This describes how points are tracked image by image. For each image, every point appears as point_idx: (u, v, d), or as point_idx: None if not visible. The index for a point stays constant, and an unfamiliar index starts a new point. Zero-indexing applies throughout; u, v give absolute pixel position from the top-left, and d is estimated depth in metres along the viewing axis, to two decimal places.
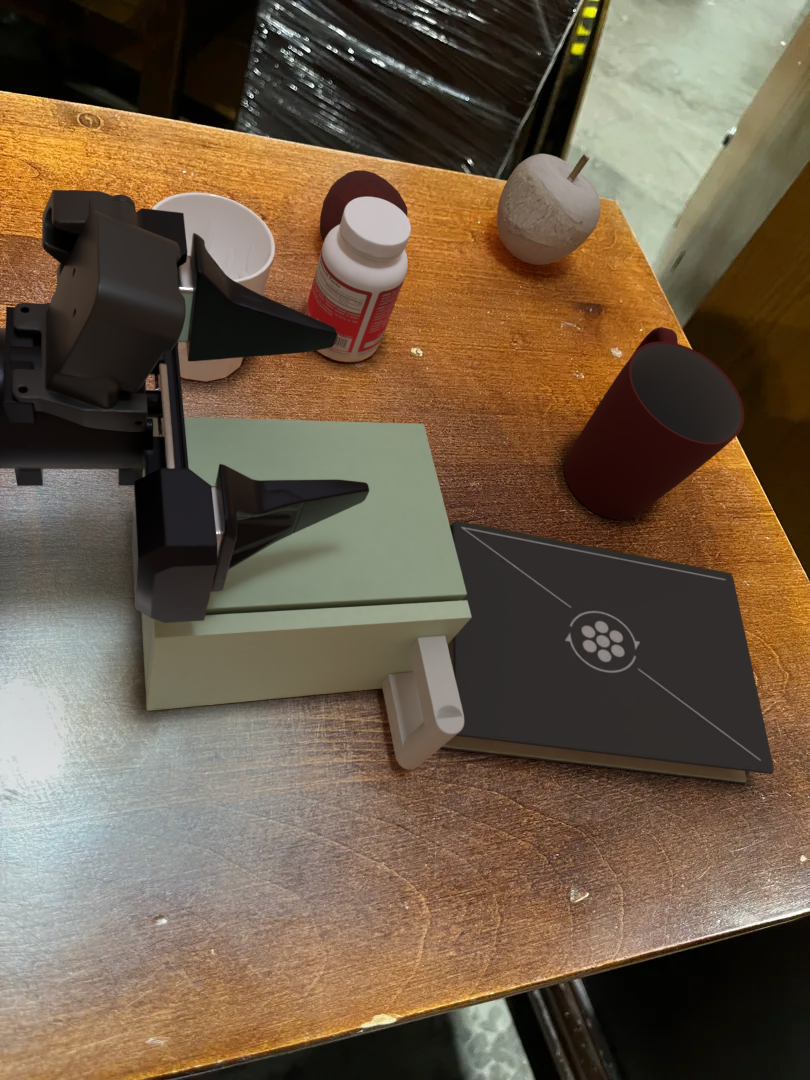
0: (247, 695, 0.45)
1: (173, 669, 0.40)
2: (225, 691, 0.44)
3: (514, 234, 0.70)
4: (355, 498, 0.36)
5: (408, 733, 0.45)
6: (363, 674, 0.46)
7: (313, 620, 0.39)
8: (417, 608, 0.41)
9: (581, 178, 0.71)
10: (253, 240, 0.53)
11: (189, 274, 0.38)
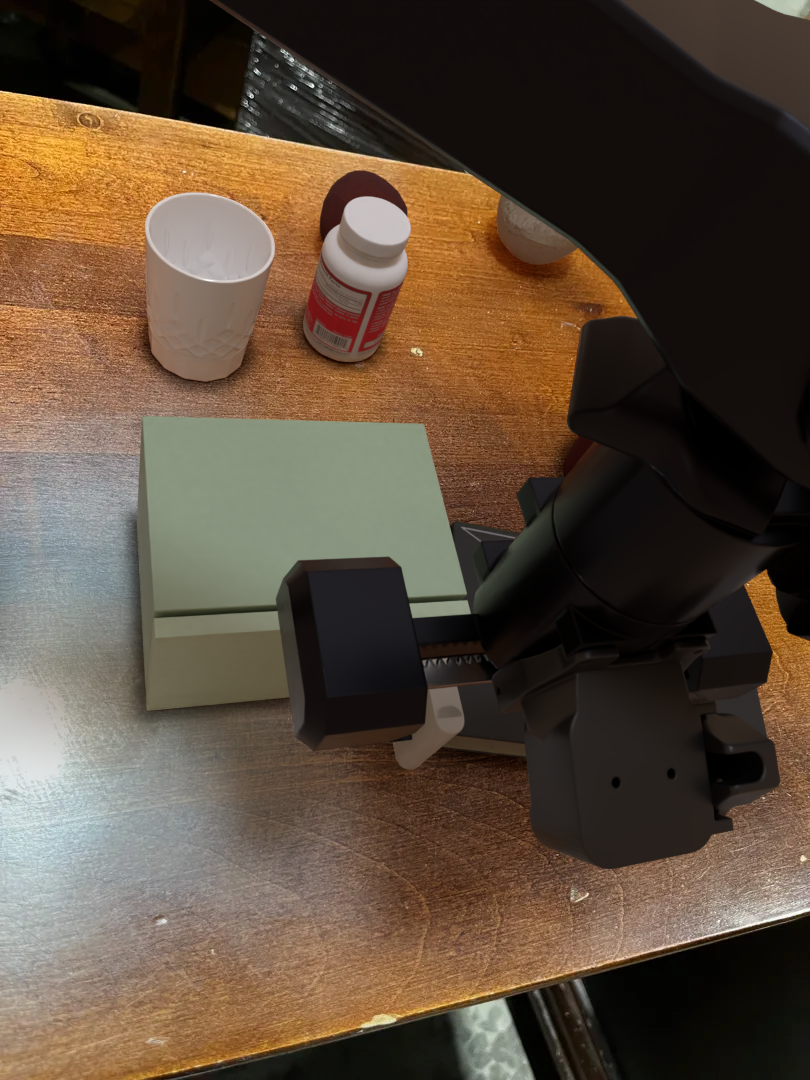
0: (247, 695, 0.45)
1: (173, 669, 0.40)
2: (225, 691, 0.44)
3: (514, 234, 0.70)
4: None
5: None
6: None
7: None
8: (417, 608, 0.41)
9: None
10: (253, 240, 0.53)
11: None
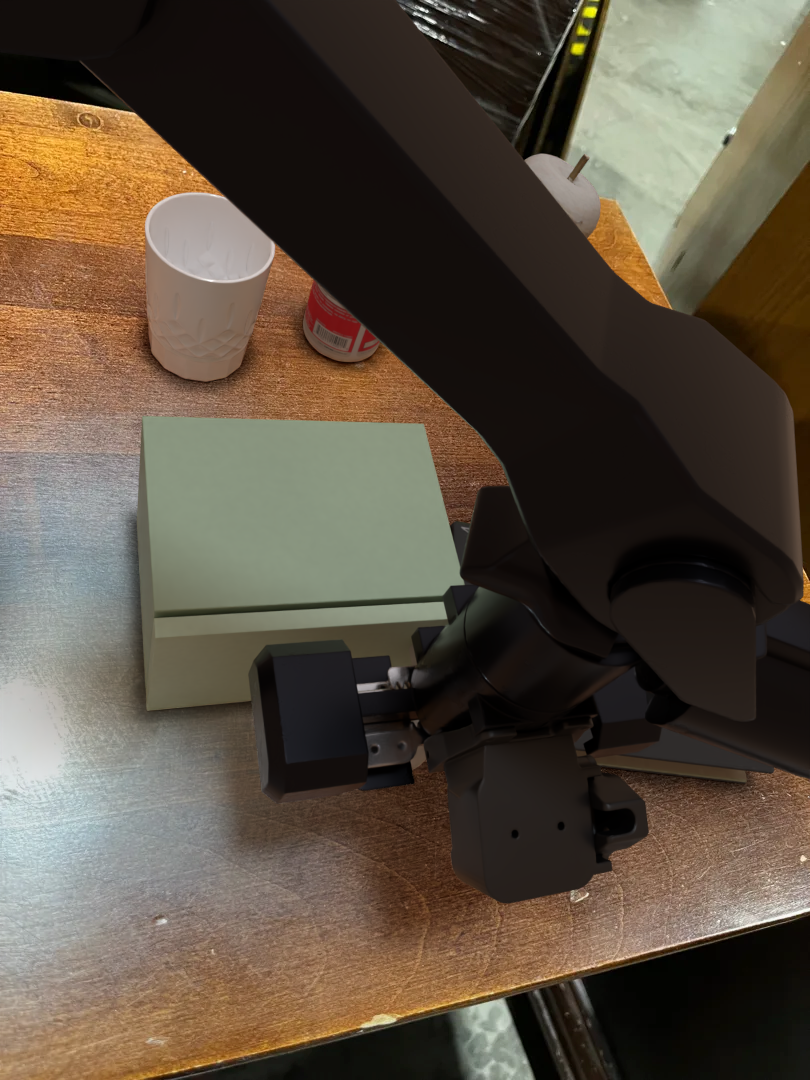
0: (247, 695, 0.45)
1: (173, 669, 0.40)
2: (225, 691, 0.44)
3: None
4: None
5: None
6: None
7: (313, 620, 0.39)
8: (417, 608, 0.41)
9: (581, 178, 0.71)
10: (253, 240, 0.53)
11: None
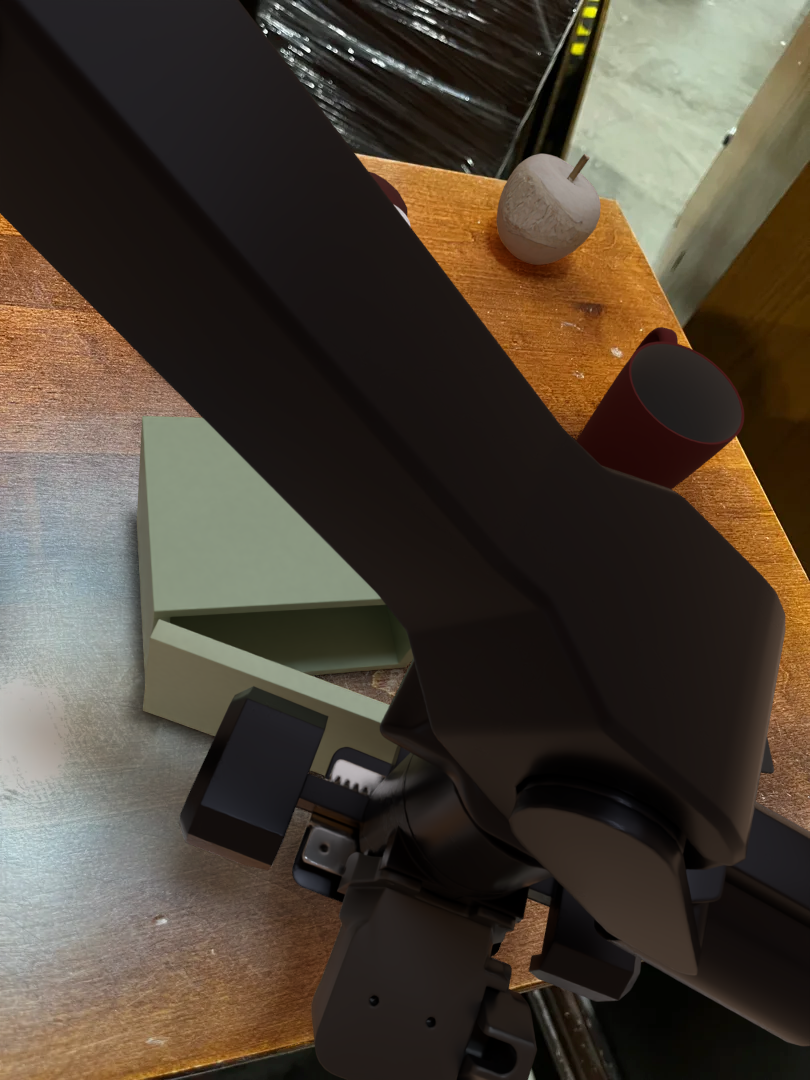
0: None
1: (166, 677, 0.39)
2: (215, 723, 0.43)
3: (514, 234, 0.70)
4: None
5: None
6: None
7: (306, 687, 0.37)
8: None
9: (581, 178, 0.71)
10: None
11: None
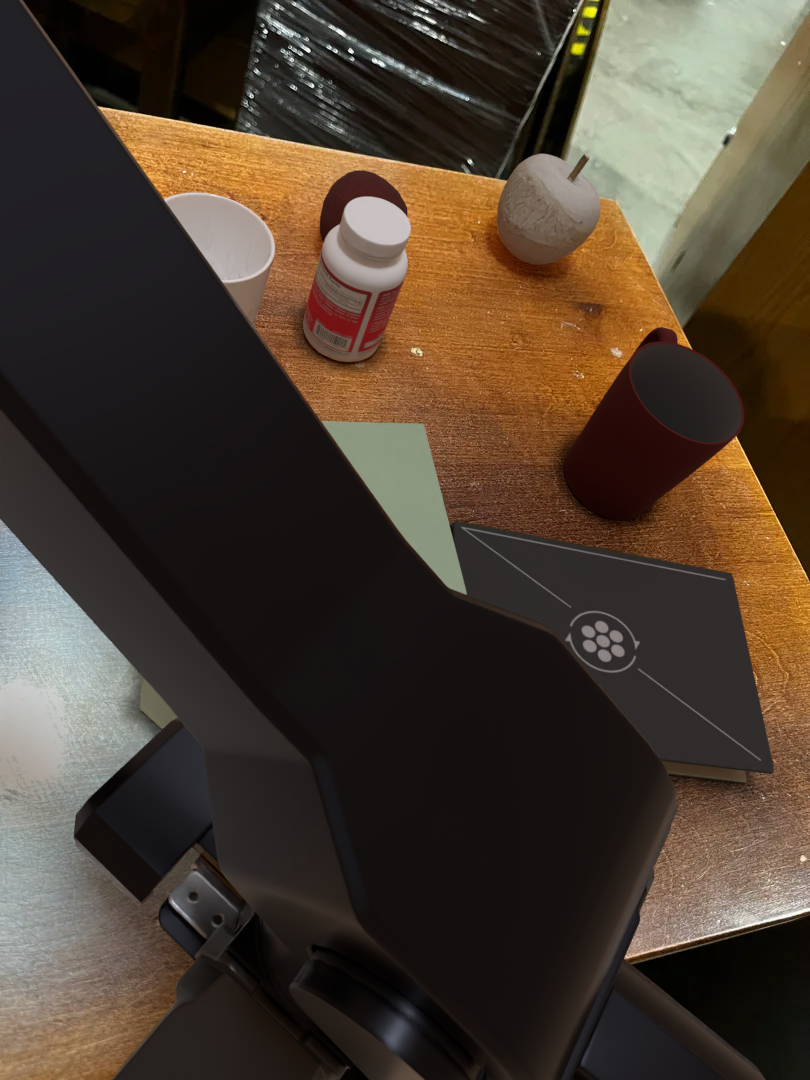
0: None
1: None
2: None
3: (514, 234, 0.70)
4: None
5: None
6: None
7: None
8: None
9: (581, 178, 0.71)
10: (253, 240, 0.53)
11: None
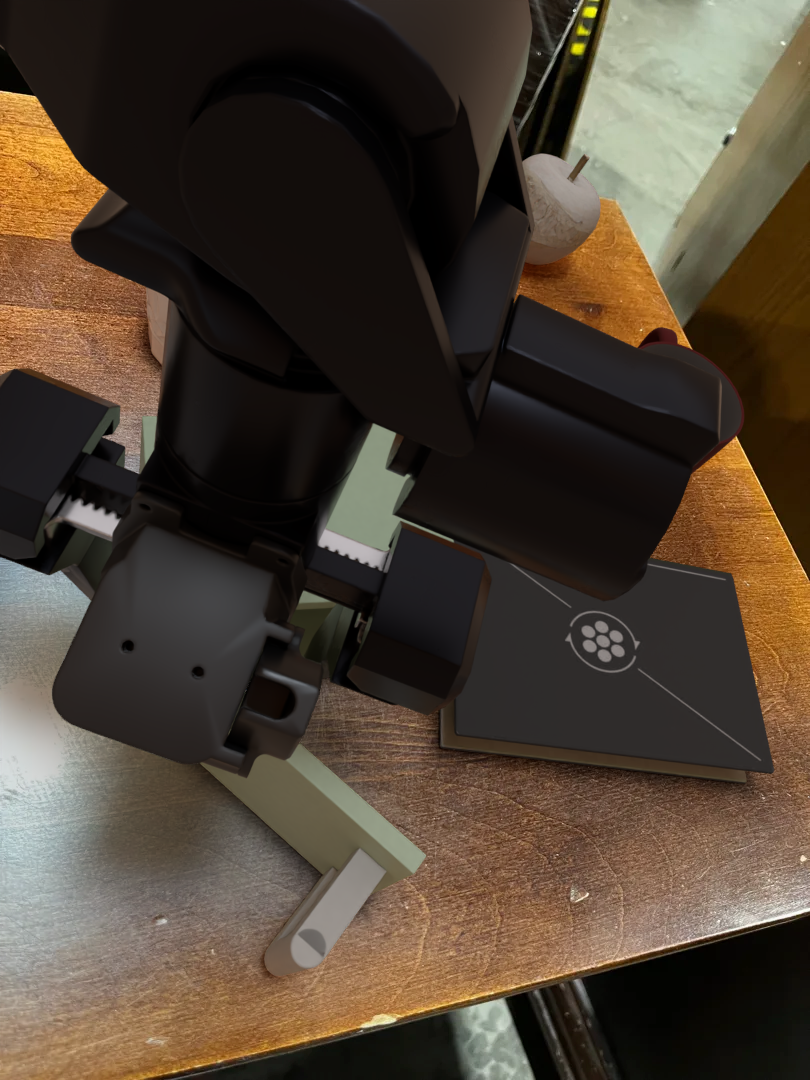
0: (213, 768, 0.43)
1: None
2: None
3: None
4: None
5: None
6: (310, 843, 0.41)
7: None
8: (372, 816, 0.35)
9: (581, 178, 0.71)
10: None
11: None
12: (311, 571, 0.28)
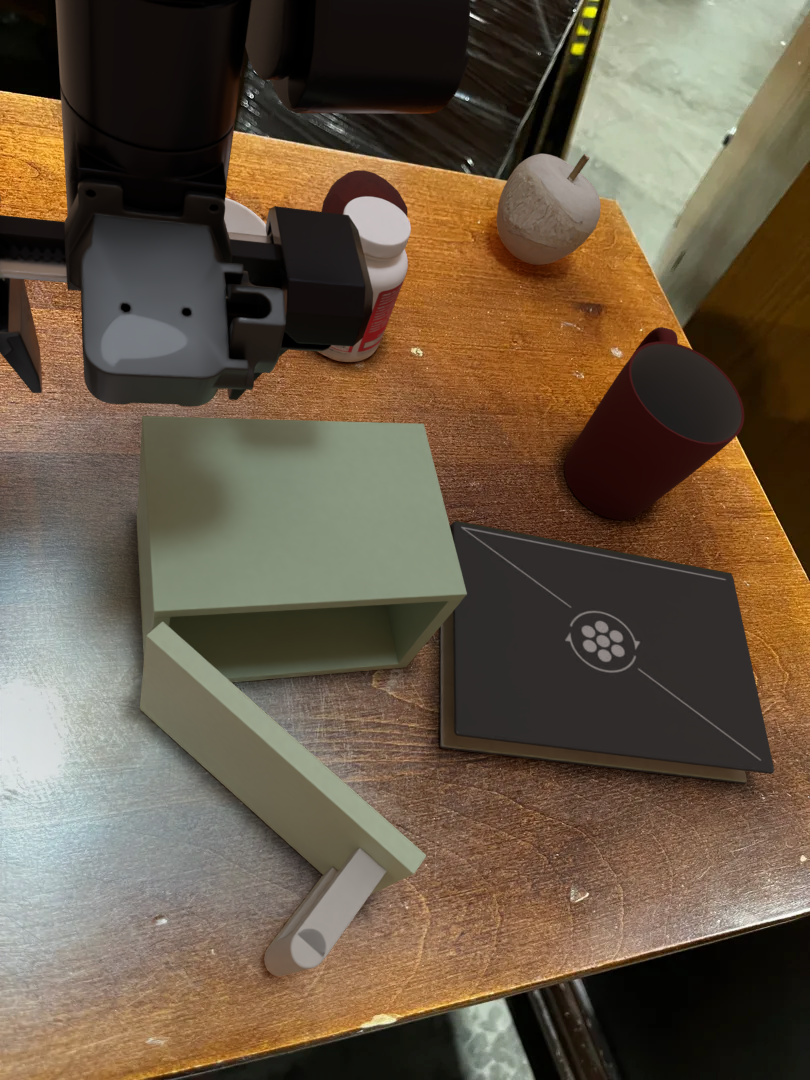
0: (213, 768, 0.43)
1: (158, 682, 0.39)
2: (196, 746, 0.42)
3: (514, 234, 0.70)
4: None
5: None
6: (310, 843, 0.41)
7: (273, 738, 0.35)
8: (372, 816, 0.35)
9: (581, 178, 0.71)
10: None
11: None
12: None
